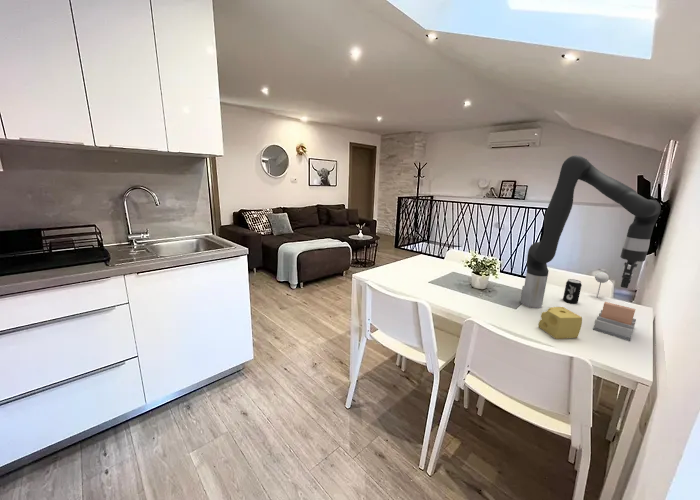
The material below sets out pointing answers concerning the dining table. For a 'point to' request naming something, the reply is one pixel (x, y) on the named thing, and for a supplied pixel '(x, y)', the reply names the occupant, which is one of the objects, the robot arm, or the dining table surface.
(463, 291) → the dining table surface
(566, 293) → the beverage can
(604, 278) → the lollipop
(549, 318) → the cheese
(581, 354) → the dining table surface
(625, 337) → the dish rack
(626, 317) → the peach wooden block
